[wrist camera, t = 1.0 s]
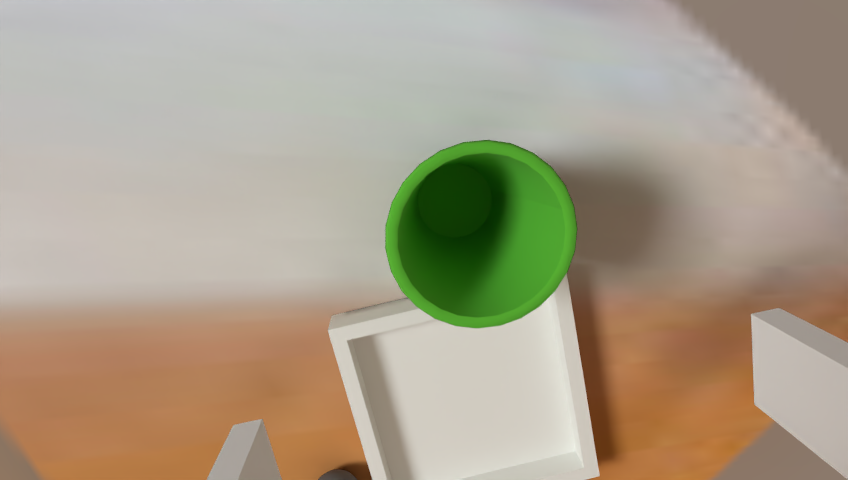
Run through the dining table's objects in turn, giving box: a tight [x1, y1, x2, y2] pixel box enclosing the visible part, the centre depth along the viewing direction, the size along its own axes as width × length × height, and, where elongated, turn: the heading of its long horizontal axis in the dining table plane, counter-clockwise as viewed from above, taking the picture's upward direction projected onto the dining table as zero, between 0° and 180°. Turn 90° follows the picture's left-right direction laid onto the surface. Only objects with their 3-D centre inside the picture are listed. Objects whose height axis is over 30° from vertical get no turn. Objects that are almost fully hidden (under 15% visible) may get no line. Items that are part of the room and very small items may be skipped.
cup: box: [385, 140, 577, 328], centre depth 29 cm, size 9×9×11 cm
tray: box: [328, 273, 600, 480], centre depth 37 cm, size 16×16×2 cm
